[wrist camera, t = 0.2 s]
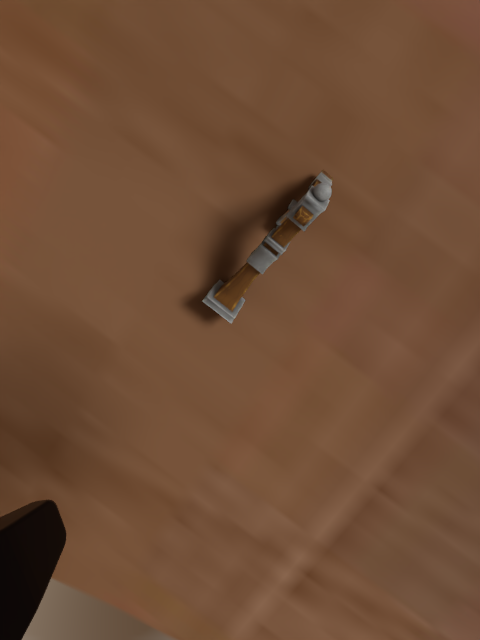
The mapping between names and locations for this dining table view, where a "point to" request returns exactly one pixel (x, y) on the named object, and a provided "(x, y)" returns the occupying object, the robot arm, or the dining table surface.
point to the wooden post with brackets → (270, 248)
